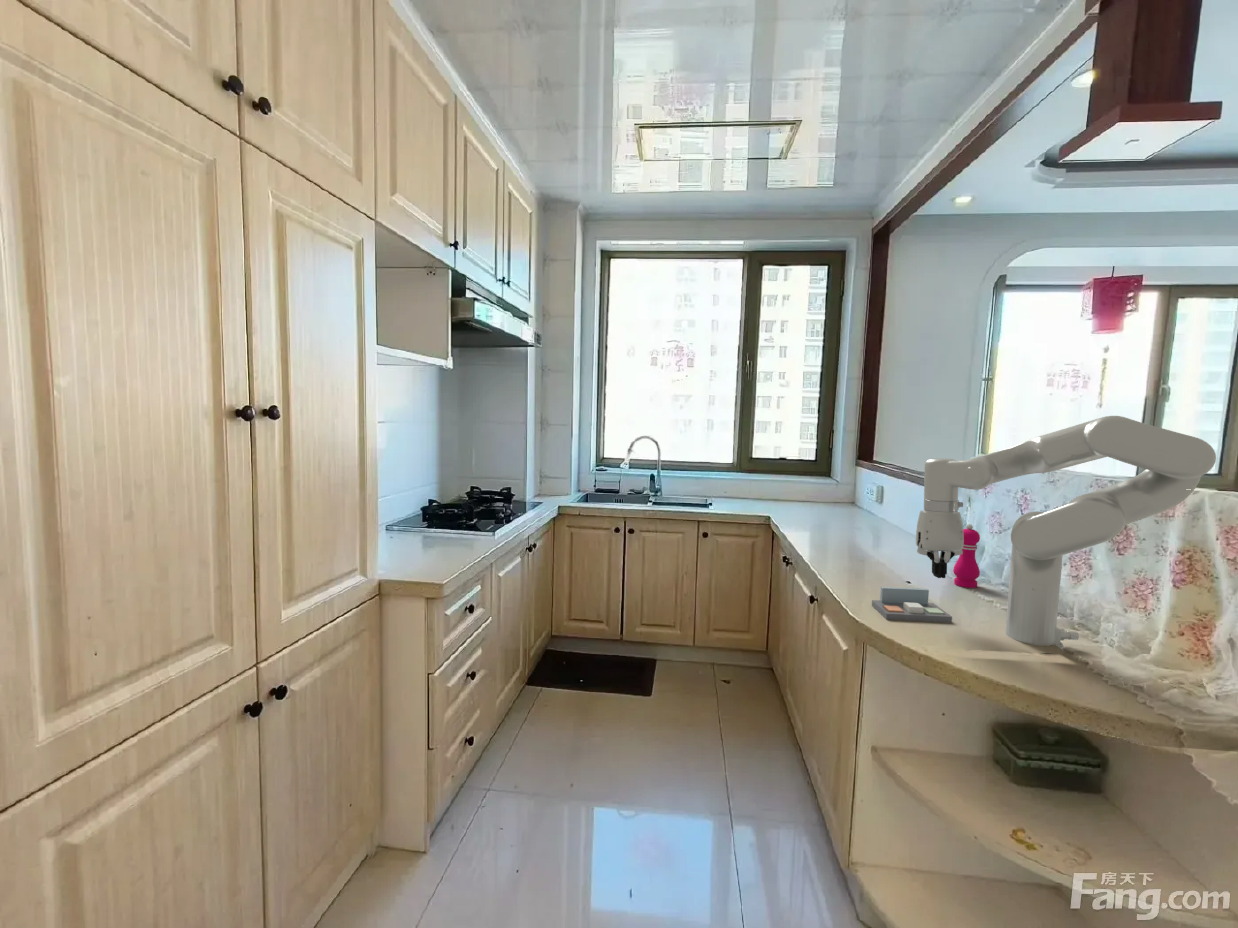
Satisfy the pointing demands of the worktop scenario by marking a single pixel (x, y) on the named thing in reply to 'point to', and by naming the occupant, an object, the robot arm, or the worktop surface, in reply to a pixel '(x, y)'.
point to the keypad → (911, 595)
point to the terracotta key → (893, 609)
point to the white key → (913, 607)
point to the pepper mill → (967, 560)
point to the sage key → (933, 611)
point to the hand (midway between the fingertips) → (939, 576)
